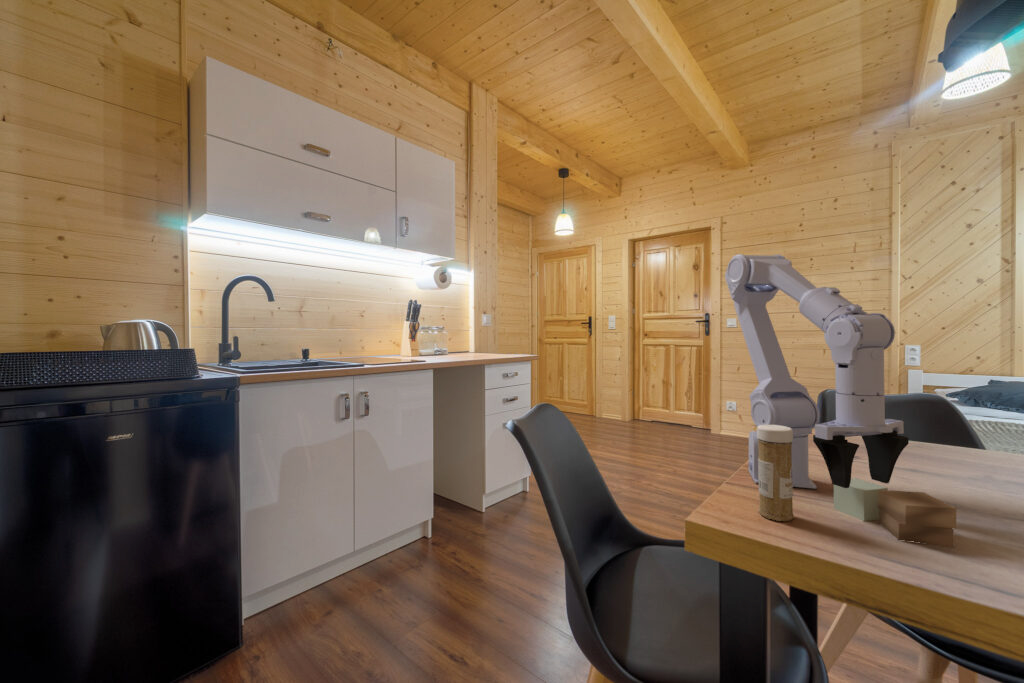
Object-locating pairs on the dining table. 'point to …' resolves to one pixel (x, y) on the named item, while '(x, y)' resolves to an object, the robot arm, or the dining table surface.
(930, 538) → the tower bottom
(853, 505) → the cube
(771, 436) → the sprinkles bottle
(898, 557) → the dining table surface
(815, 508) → the dining table surface
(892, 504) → the tower top
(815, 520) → the dining table surface
